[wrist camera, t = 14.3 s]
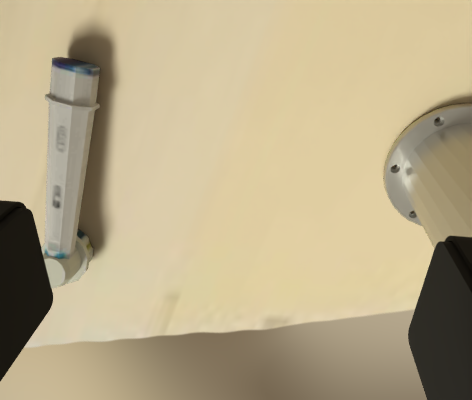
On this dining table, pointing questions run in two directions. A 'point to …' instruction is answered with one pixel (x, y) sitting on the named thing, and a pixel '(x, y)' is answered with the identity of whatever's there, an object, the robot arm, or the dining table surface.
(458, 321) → the robot arm
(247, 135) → the dining table surface
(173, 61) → the dining table surface
